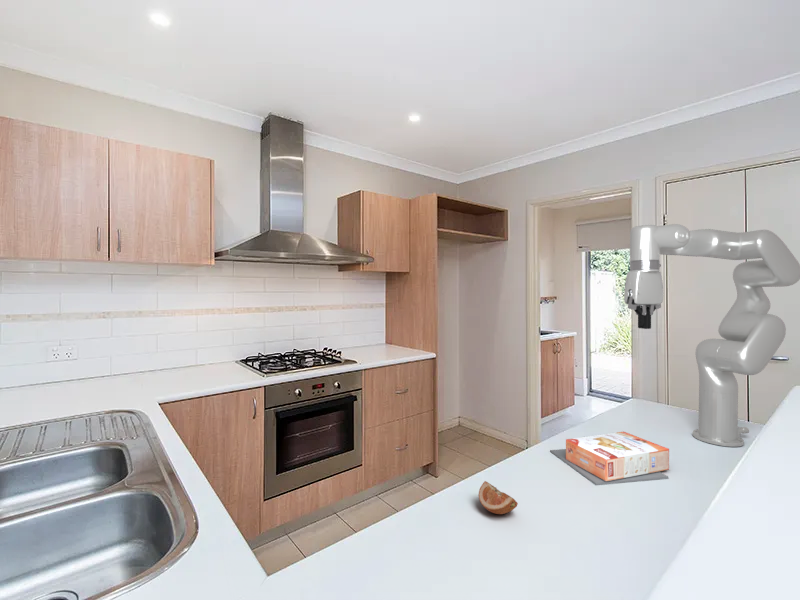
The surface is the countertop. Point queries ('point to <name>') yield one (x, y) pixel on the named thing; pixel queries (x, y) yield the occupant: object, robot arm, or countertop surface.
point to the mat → (598, 481)
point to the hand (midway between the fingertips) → (644, 328)
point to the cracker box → (617, 455)
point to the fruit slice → (495, 499)
